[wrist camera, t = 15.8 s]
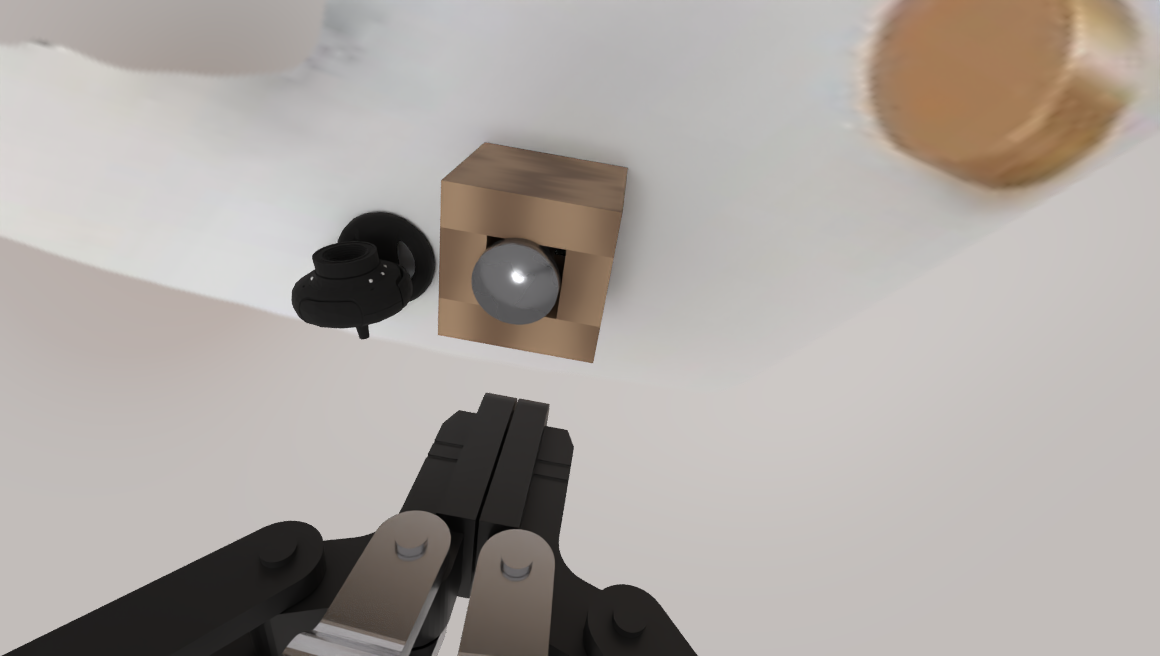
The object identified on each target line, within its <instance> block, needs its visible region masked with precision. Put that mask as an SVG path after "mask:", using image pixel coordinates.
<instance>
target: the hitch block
mask: <svg viewBox="0 0 1160 656" xmlns="http://www.w3.org/2000/svg"><path fill="white" fill-rule="evenodd" d="M627 169H628V168H626V167H620V166H614V165H609V164H603V163H598V162H592V161H586V160H581V159H575V158H569V157H564V156H558V155H553V154H547V153H541V152H536V151H530V150H525V149H519V148H513V147H508V146H502V145H496V144H491V143H484V144H482V145H481V146H480V147H479V148H478V149H477V150H476V151H474V152H473V153H472V154H471V155H470V156H469V157H467V158H466V159H465V160H464V161H463V162H462V163H461V164H459V165H458V166H457V167H456V168H455V169H454V170H453V171H451V172H450V173H449V174H448V175H447V176H446V177H445V178H443V179H442V180H441V218H440V265H439V312H438V335H441V336H447V337H452V338H458V339H463V340H469V341H474V342H480V343H485V344H491V345H496V346H502V347H507V348H512V349H518V350H523V351H529V352H534V353H540V354H545V355H551V356H556V357H562V358H567V359H573V360H578V361H583V362H589V363H593V361H594V356H595V350H596V345H597V340H598V335H599V330H600V325H601V320H602V315H603V309H604V304H605V299H606V294H607V289H608V284H609V279H610V274H611V268H612V263H613V258H614V253H615V248H616V243H617V238H618V233H619V227H620V222H621V217H622V212H623V203H624V195H625V186H626V178H627ZM505 238H524V239H528V240H531V241H533V242H535V243H537V244H539V245H543V246H549V247H554V248H560V249H565V250H566V256H562V255H556V254H554V257H553V258H554V260H555V261H556V263H557V265H558V268H559V271H560V277H561V283H560V289H559V293H558V296H557V299H556V302H555V304H554V306H553V308H552V309H551V311H550V312H549V313H548V314H547V315H546V316H545V317H543V318H542V319H540V320H538V321H536V322H533V323H530V324H524V325H515V324H509V323H505V322H502V321H499V320H497V319H495V318H494V317H492V316H491V315H489V314H488V313H487V312H486V311H485V310H484V309H483V308H482V307H481V306H480V305H479V303H478V302H477V300H476V298H475V296H474V293H473V290H472V284H471V278H472V272H473V269H474V267H475V264H476V263H477V261H478V260H479V258H480V257H481V255H482V254H483V252H484V251H485V250H486V249H487V248H488V247H489V246H490V245H491V244H493V243H495V242H497V241H499V240H502V239H505Z"/></svg>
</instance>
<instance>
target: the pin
mask: <svg viewBox="0 0 1160 656" xmlns="http://www.w3.org/2000/svg"><path fill="white" fill-rule="evenodd" d="M556 249H557V248H554V247H549V246H543V245H539V244H537V243H535V242H533V241H531V240H528V239H524V238H505V239H502V240H499V241H497V242H495V243H493V244H491V245H490V246H489V247H488V248H487V249H486V250H485V251H484V252H483V254H482V255H481V257H480V258H479V260H478V261H477V263H476V264H475V267H474V269H473V272H472V278H471V284H472V290H473V293H474V296H475V298H476V300H477V302H478V303H479V305H480V306H481V307H482V308H483V309H484V310H485V311H486V312H487V313H488V314H489V315H491V316H492V317H494V318H495V319H497V320H499V321H502V322H505V323H509V324H515V325H524V324H530V323H533V322H536V321H538V320H540V319H542V318H543V317H545V316H546V315H547V314H548V313H549V312H550V311H551V309H552V308H553V306H554V304H555V302H556V299H557V296H558V293H559V289H560V283H561V277H560V271H559V268H558V265H557V263H556V261H555V260H554V258H553V257H554V254H555V251H556Z"/></svg>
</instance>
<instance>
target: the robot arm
mask: <svg viewBox="0 0 1160 656" xmlns="http://www.w3.org/2000/svg"><path fill="white" fill-rule="evenodd" d="M548 413H549V404H546V403H541V402H535V401H530V400H524V399H519V400H518V402H517V398H513V397H507V396H502V395H496V394H491V393H486V394H485V395H484V397H483V400H482V402H481V405H480V407H479V409H478V412H477V413H471V412H466V411H460V410H459V411H458V412H456V413H455V414H454V415H452V416H451V417H450V418H449V419H448V420H446V421H445V422H444V423H443V424H442V426H441V428H440V430H439V433H438V434H437V436H436V439H435V442H434V444H433V445H432V447H431V449H430V451H429V453H428V457H427V458H426V459H425V461H424V463H423V465H422V467H421V470H420V472H419V474H418V476H417V478H416V480H415V482H414V484H413V486H412V489H411V490H410V492H409V494H408V496H407V498H406V501H405V503H404V505H403V507H402V509H401V510H400V512H399V514H397V515H394V516H393V517H391V518H389V519H388V520H386V521H385V522H383V523H382V524H381V526H379V528H378V529H377V530H376V532H374V533H372V534H369V535H365V536H361V537H355V538H346V539H336V540H327V541H323V539H322V536H321V534H320V532H319V531H318V530H317V529H316V528H314V527H313V526H312V525H309V524H307V523H304V522H300V521H284V522H278V523H274V524H271V525H269V526H266V527H264V528H261V529H259V530H257V531H256V532H253V533H251V534H249V535H247V536H245V537H243V538H241V539H239V540H237V541H235V542H233V543H231V544H229V545H227V546H225V547H223V548H221V549H219V550H217V551H215V552H212V553H210V554H208V555H206V556H204V557H202V558H200V559H198V560H196V561H194V562H192V563H190V564H188V565H186V566H184V567H182V568H180V569H178V570H176V571H174V572H172V573H170V574H168V575H166V576H163V577H161V578H159V579H157V580H155V581H153V582H151V583H149V584H147V585H145V586H143V587H141V588H139V589H137V590H135V591H133V592H131V593H129V594H127V595H125V596H123V597H121V598H119V599H117V600H115V601H113V602H110V603H109V604H106V605H104V606H102V607H100V608H98V609H96V610H94V611H92V612H90V613H88V614H86V615H84V616H82V617H80V618H78V619H76V620H74V621H72V622H70V623H68V624H66V625H63V626H61V627H59V628H57V629H55V630H53V631H51V632H49V633H47V634H45V635H43V636H41V637H39V638H37V639H35V640H33V641H31V642H29V643H27V644H25V645H23V646H21V647H19V648H17V649H14V650H12V651H10V652H8V653H7V654H4V655H2V656H437V655H438V652H439V650H440V647H441V645H442V642H443V640H444V637H445V633H446V629H447V624H448V622H449V619H450V616H451V613H452V610H453V606H454V603H455V600H456V597H457V596H459V597H464V598H470V600H469V605H468V609H467V614H466V618H465V623H464V628H463V632H462V637H461V642H460V646H459V651H458V655H457V656H697V654H696V653H695V652H694V650H693V649H692V648H691V646H690V645H689V643H688V642H687V641H686V640H685V638H684V637H683V635H682V634H681V633H680V631H679V630H678V629H677V627H676V626H675V625H674V623H673V622H672V620H671V619H670V618H669V616H668V615H667V614H666V612H665V611H664V610H663V608H662V607H661V605H660V604H659V603H658V602H657V601H656V600H655V598H653V597H652V596H651V595H650V594H649V593H647V592H645V591H644V590H642V589H640V588H638V587H634V586H631V585H625V584H622V585H621V584H620V585H613V586H610V587H607V588H605V589H604V590H600V589H598V588H596V587H595V586H593V585H591V584H589V583H587V582H585V581H584V580H582V579H580V578H579V577H577V576H576V575H575V574H574V573H572V571H571V570H570V569H569V568H568V567H567V566H566V564H565V563H564V561H563V559H562V557H561V554H560V551H559V534H560V528H561V522H562V516H563V510H564V504H565V498H566V492H567V486H568V480H569V474H570V467H571V461H572V456H573V449H574V446H573V444H572V441H571V438H570V436H569V433H568V431H567V430H564V429H558V428H553V427H548V426H547V420H548Z"/></svg>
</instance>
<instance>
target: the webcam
mask: <svg viewBox="0 0 1160 656" xmlns="http://www.w3.org/2000/svg"><path fill="white" fill-rule="evenodd" d="M399 241H402V242H403V243H405V244H406V245H407V247H408V248H409V250H410V251H411V253H412V255H413V257H414V260H415V273H414V275H413V277H412V278H410V275H409V274H408V272H407V271H406V270H405V269H404V268H403V267H402V266H400V265H399V260H398V254H397V245H398V242H399ZM312 259H313V263H314V266H315V270H313V271H312V272H310V273H309V274H307V275H305V276H304V277H302V278H301V279H300V280H299V281H298V282H296V284H295V286H294V288H293V290H292V305H293V308H294V309H295V311H296V313H297V314H298V316H299V317H300V318H301V319H302V320H304V321H305V322H306V323H309V324H313V325H317V326H319V327H328V328H351V327H356V329H357V332H358V334H359V337H360V339H367V338H369V329H368V325H369V324H373V323H377V322H380V321H382V320H384V319H387V318H389V317H391V316H393V315H395V314H396V313H398V312H399V311H401V310H402V308H404V307H405V306H406V305H407V304H408V302H409V301H412V300H414V299H416V298H418V297H419V296H420V295H421V294H423V293H424V292H425V291H426V289H427V288H428V286H429V285H430V284H431V281H432V278H433V274H434V257H433V254H432V251H431V248H430V246H429V244H428V242H427V240H426V239H425V238H424V236H423V235H422V234H421V233H420V232H419V231H418V230H417V229H416V228H415V227H413V226H412V225H411V224H410V223H408V222H407V221H406V220H404V219H403V218H400V217H397V216H395V215H392V214H388V213H367V214H363V215H360V216H358V217H356V218H354V219H353V220H352V221H351V222H350V223H349V224H348V225H347V226H346V227H345V228H344V229H343V231H342V232H341V235H340V237H339V239H338V243H336V244H332V245H328V246H326V247H323V248H321V249H319V250H318V251H316V252H315V253H314V254H313V255H312Z"/></svg>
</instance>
